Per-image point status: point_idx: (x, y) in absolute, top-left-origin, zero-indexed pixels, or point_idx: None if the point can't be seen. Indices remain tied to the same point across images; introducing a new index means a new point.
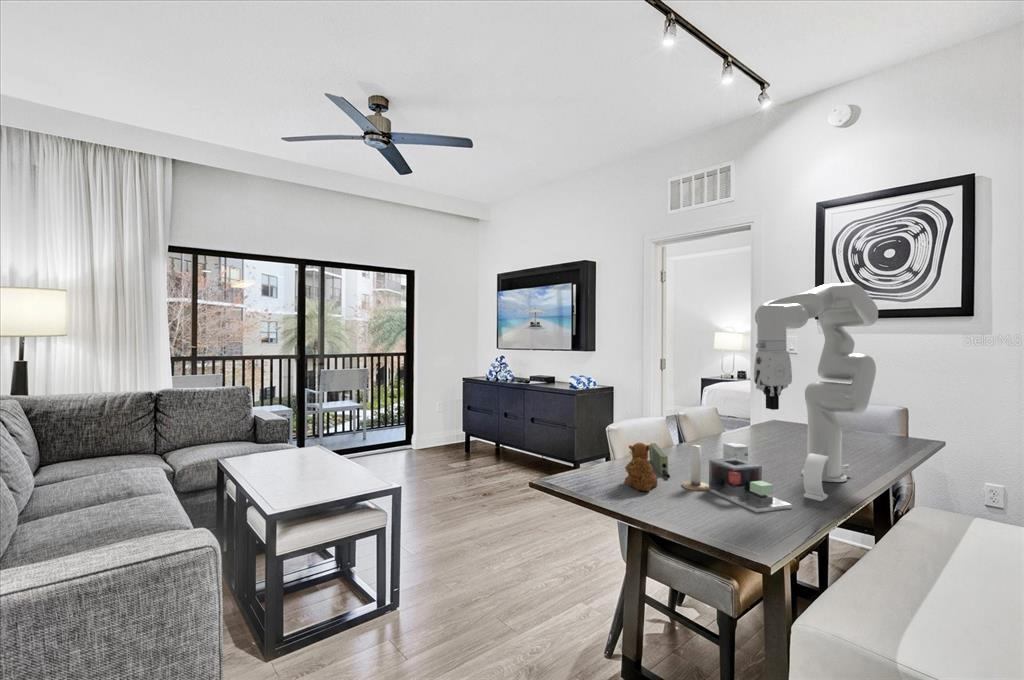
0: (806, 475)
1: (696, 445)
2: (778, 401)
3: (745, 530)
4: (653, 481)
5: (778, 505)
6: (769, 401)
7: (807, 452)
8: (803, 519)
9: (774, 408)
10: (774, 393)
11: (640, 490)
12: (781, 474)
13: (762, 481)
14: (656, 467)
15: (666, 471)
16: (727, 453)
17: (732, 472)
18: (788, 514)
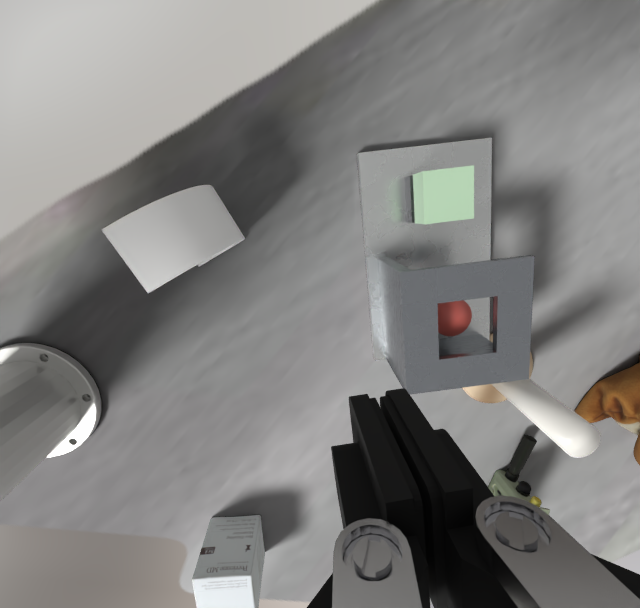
0: (235, 228)
1: (575, 448)
2: (370, 443)
3: (619, 14)
4: (638, 373)
5: (405, 151)
6: (468, 470)
7: (27, 474)
8: (394, 60)
9: (405, 392)
10: (424, 583)
11: None
12: (160, 438)
13: (429, 213)
14: None
15: (510, 473)
16: (258, 569)
17: (459, 318)
18: (405, 108)
